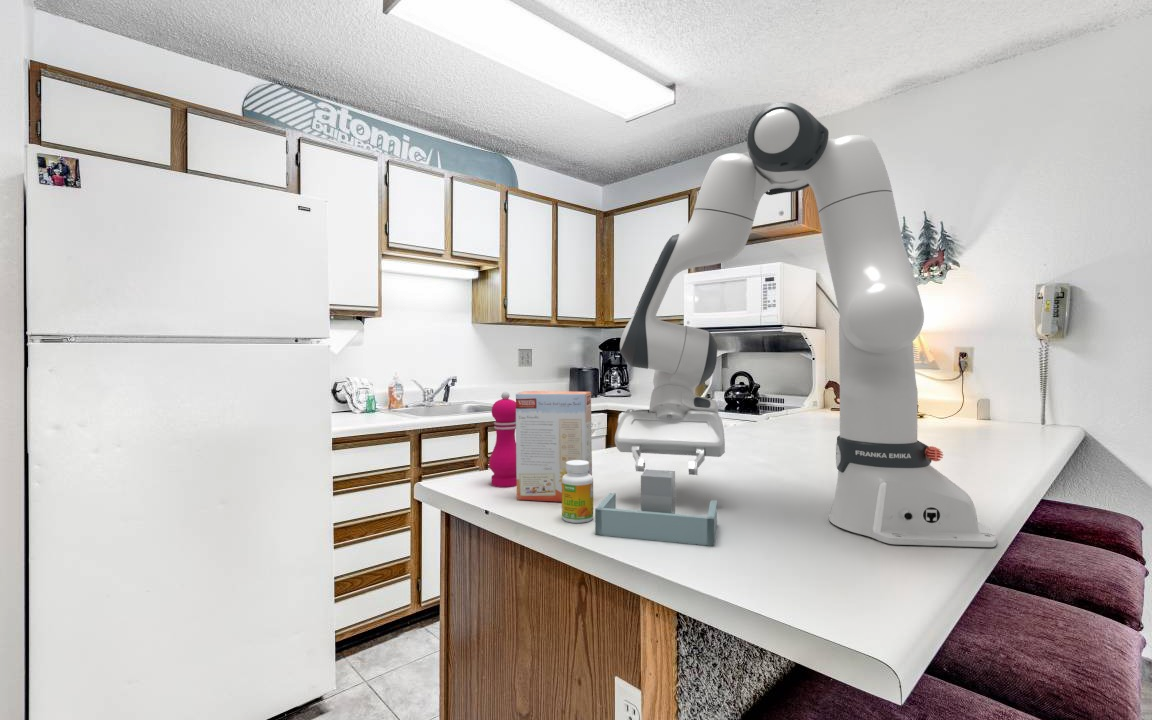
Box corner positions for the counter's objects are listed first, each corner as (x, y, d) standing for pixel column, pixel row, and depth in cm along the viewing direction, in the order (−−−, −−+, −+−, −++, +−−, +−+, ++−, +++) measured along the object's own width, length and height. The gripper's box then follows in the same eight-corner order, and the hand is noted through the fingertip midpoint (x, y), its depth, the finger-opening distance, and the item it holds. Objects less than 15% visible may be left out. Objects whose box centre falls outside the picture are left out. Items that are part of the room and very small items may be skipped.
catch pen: (716, 525, 88) (716, 500, 88) (714, 546, 79) (714, 519, 79) (610, 515, 94) (610, 492, 94) (595, 534, 84) (595, 509, 84)
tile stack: (675, 525, 88) (675, 471, 88) (671, 535, 84) (671, 477, 84) (646, 523, 90) (645, 469, 90) (641, 532, 85) (640, 475, 85)
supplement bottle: (559, 522, 90) (558, 465, 90) (565, 513, 95) (564, 458, 95) (591, 524, 89) (590, 466, 89) (595, 514, 94) (595, 459, 94)
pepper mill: (520, 488, 113) (519, 393, 113) (486, 487, 113) (485, 393, 113) (524, 479, 120) (523, 390, 120) (492, 479, 121) (491, 390, 120)
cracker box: (593, 496, 106) (592, 390, 106) (586, 504, 101) (586, 393, 100) (525, 492, 110) (524, 389, 109) (515, 500, 104) (514, 392, 103)
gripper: (617, 399, 106) (606, 458, 97) (725, 401, 100) (724, 464, 91) (622, 419, 110) (611, 477, 101) (725, 422, 105) (724, 484, 95)
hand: (665, 471), depth 96 cm, fingers open, 8 cm apart
